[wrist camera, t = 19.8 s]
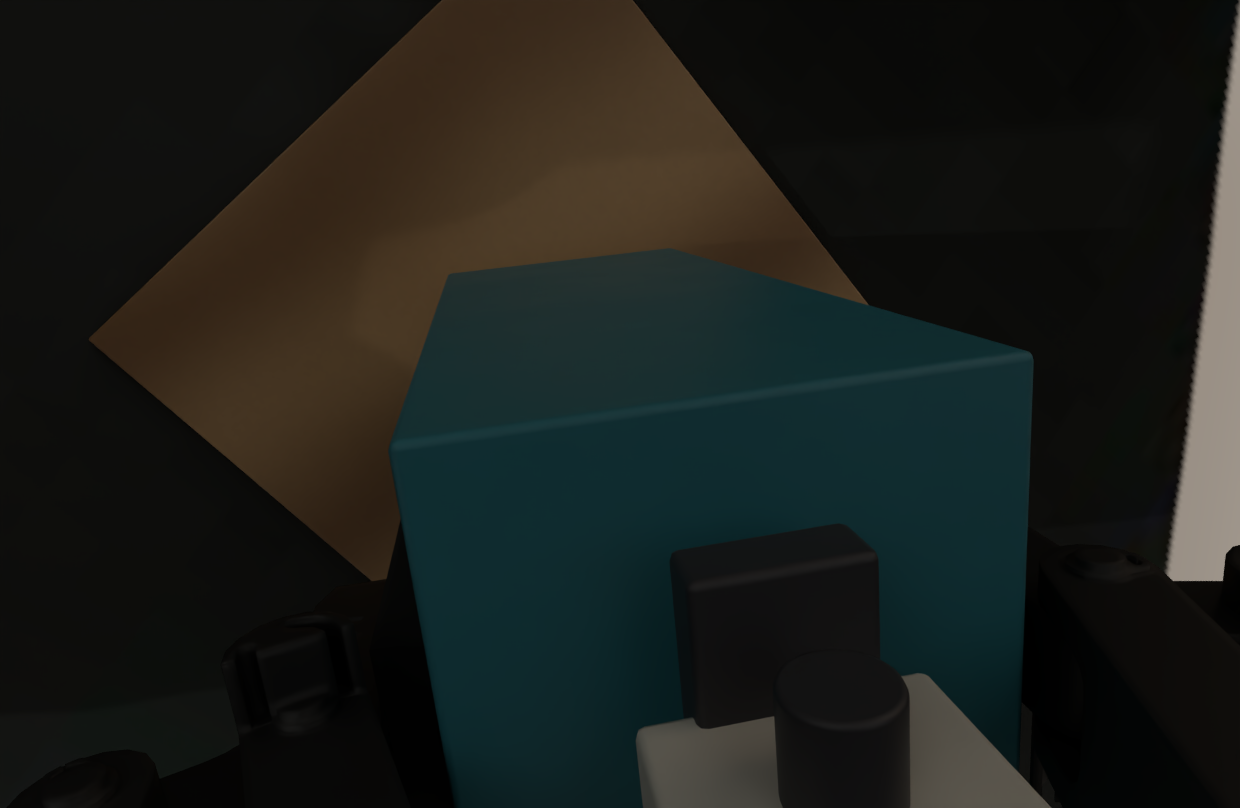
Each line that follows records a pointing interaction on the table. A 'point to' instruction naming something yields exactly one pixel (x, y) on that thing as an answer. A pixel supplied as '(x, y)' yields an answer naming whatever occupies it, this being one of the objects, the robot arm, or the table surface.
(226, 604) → the table surface
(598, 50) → the cork mat
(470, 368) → the teal box
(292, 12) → the table surface
